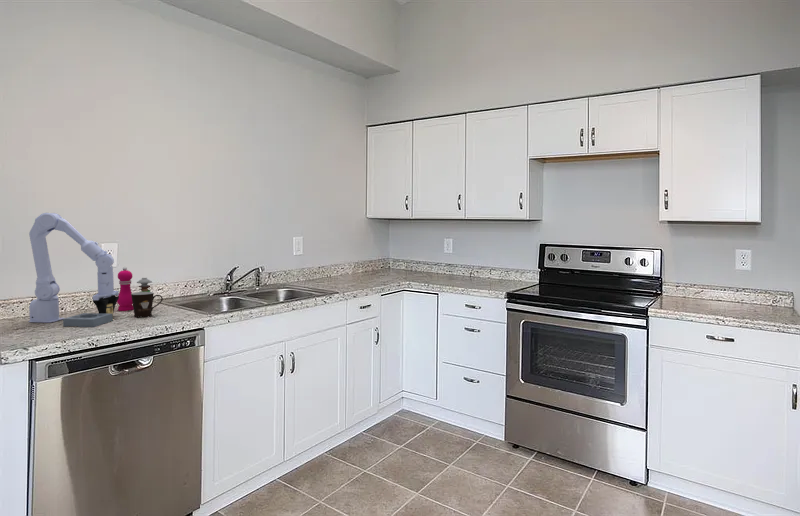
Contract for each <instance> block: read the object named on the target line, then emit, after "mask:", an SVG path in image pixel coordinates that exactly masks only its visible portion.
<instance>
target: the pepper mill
mask: <svg viewBox="0 0 800 516" xmlns="http://www.w3.org/2000/svg"><path fill="white" fill-rule="evenodd" d="M132 278H133V273H132V271H130V270H128V267H126V266H124V267H122V270H121V271H118V273H117V279H118V280H119V281H118V284H119V286H120V290H119V295H117V296H119V299H118V301H117V303H116V304H117V305H118V306H117V310H118V311H120V312H128V311H129V310H130V311H134V308H133V302H132V296H131V294H132V293H133V292H132V290H131V284H132Z"/></svg>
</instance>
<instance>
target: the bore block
mask: <svg viewBox="0 0 800 516" xmlns="http://www.w3.org/2000/svg"><path fill="white" fill-rule="evenodd" d="M63 318H64V319H62V326H63V327H67V326H78V328H82V327H83V328H96V327H98V326H101V325H105V324H107V323H111V322H113V319H114V314H113V315H112V314H106V313H99V312H97V313H96V312H95V313H94V312H93V313H92V312H83V313H80V314H76V315H72V316H68V317H63ZM110 321H111V322H110Z"/></svg>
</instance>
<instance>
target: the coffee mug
mask: <svg viewBox="0 0 800 516" xmlns="http://www.w3.org/2000/svg"><path fill="white" fill-rule="evenodd" d="M154 294H155V293H154V292H153V291H150V292H141V291H138V292H132V294H131V296H132V302H133V304H132V305H133V308H134V309H133V313H134V318H148V316H149V317H151V316H152V313H153V309H154V308H156V307H157V306H160V304H161V303H162V302H163V299H164V298H163V296H162V295H160V294H155V295H154ZM156 297H160V301H159V302H158V303H157V304H156V305H154V306H153V304H154V303H153V302H154V300H155V298H156Z"/></svg>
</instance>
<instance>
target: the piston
mask: <svg viewBox="0 0 800 516" xmlns="http://www.w3.org/2000/svg"><path fill="white" fill-rule="evenodd" d="M106 314H112V315H113V316H114V313H113V303H107V307H106Z"/></svg>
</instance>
